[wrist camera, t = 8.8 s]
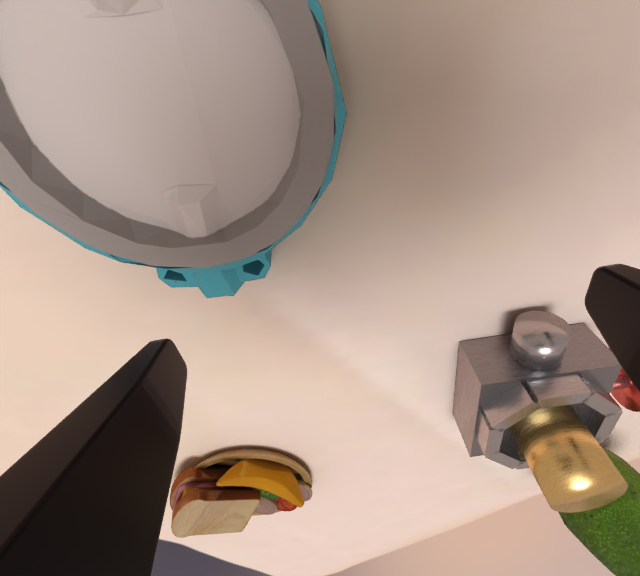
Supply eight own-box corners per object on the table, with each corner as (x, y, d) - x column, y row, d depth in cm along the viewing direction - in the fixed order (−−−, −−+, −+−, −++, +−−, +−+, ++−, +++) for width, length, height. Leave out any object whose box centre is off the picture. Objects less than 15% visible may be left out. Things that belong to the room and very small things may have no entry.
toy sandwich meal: (279, 511, 42) (277, 559, 39) (162, 489, 38) (147, 541, 34) (334, 459, 36) (338, 510, 32) (202, 425, 32) (189, 480, 28)
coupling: (577, 392, 25) (639, 472, 20) (562, 428, 27) (614, 507, 23) (511, 401, 25) (558, 483, 20) (503, 436, 27) (542, 516, 23)
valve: (647, 288, 25) (723, 346, 20) (591, 409, 33) (636, 469, 28) (461, 317, 25) (496, 379, 21) (451, 428, 34) (475, 490, 29)
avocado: (615, 419, 34) (741, 576, 24) (610, 458, 39) (715, 604, 29) (528, 441, 36) (614, 597, 26) (532, 477, 40) (608, 621, 30)
